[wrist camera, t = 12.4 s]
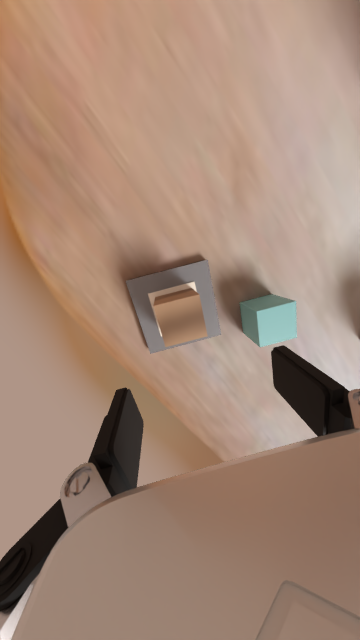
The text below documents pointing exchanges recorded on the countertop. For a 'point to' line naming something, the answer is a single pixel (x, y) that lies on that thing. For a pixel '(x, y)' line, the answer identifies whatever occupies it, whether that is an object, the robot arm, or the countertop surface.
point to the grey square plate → (170, 282)
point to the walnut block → (180, 316)
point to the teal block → (269, 319)
